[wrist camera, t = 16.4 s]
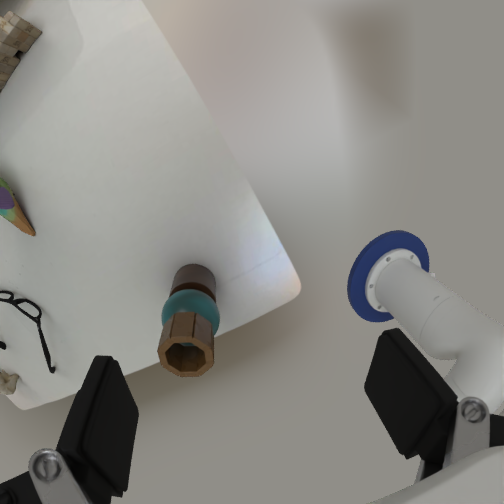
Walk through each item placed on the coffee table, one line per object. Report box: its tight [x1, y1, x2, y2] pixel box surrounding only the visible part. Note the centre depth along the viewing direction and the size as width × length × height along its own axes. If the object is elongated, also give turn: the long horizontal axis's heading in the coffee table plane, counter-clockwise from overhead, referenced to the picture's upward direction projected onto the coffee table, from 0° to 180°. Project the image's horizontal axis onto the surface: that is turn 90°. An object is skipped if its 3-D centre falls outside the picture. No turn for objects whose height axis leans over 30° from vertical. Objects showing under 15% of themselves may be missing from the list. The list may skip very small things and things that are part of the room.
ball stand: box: [162, 264, 220, 346], centre depth 37 cm, size 7×7×13 cm
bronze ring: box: [157, 312, 214, 377], centre depth 29 cm, size 6×6×4 cm
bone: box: [0, 369, 19, 395], centre depth 42 cm, size 9×6×10 cm
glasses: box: [0, 291, 55, 373], centre depth 40 cm, size 17×18×5 cm
